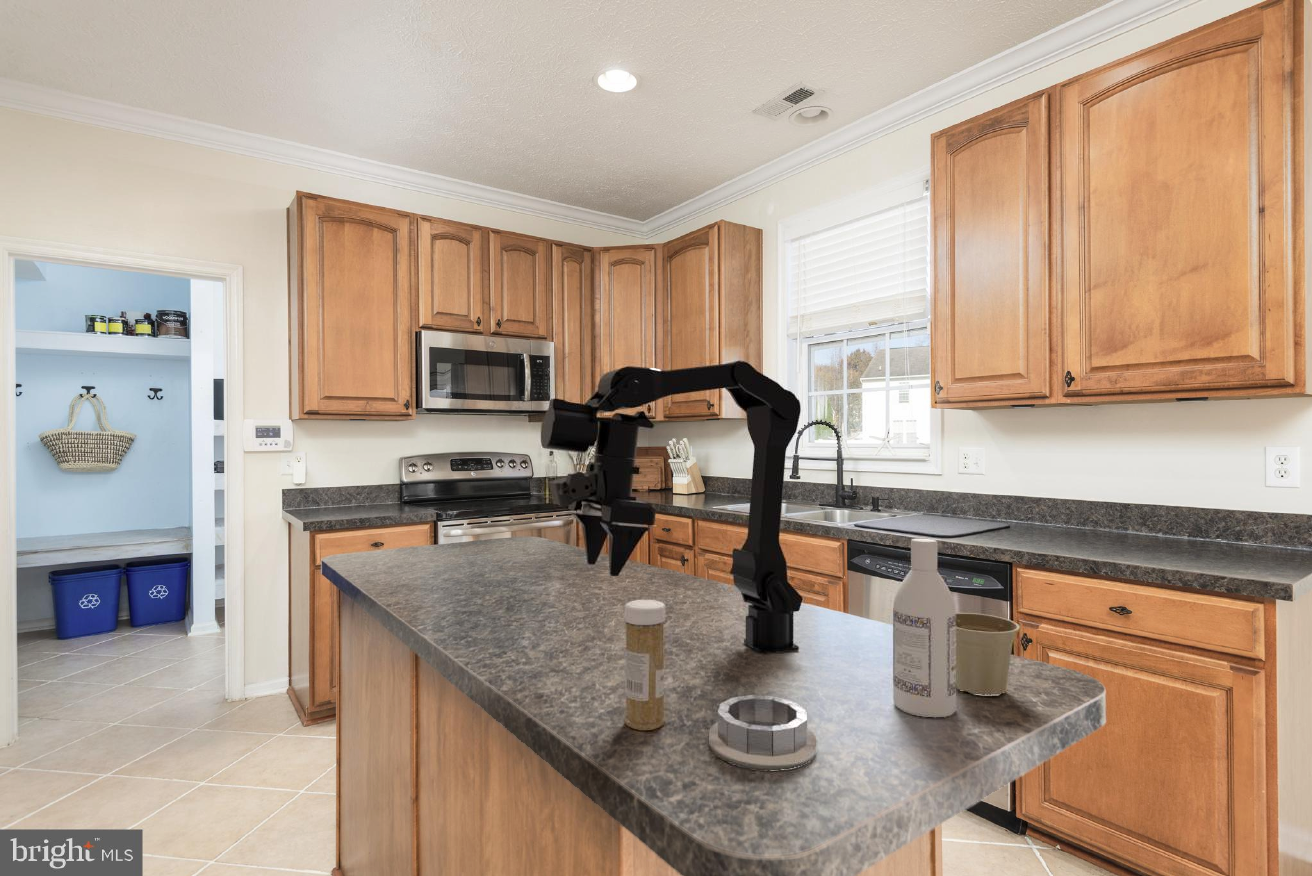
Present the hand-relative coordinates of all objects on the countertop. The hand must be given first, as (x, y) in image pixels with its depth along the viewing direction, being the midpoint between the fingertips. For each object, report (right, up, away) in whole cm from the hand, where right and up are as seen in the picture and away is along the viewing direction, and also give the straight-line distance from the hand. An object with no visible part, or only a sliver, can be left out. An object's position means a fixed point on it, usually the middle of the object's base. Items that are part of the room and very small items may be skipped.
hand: (601, 569), depth 92 cm
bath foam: (+39, -14, -12) cm, 44 cm away
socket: (+19, -14, -22) cm, 32 cm away
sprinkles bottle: (+6, -14, -17) cm, 23 cm away
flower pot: (+49, -14, -6) cm, 51 cm away
